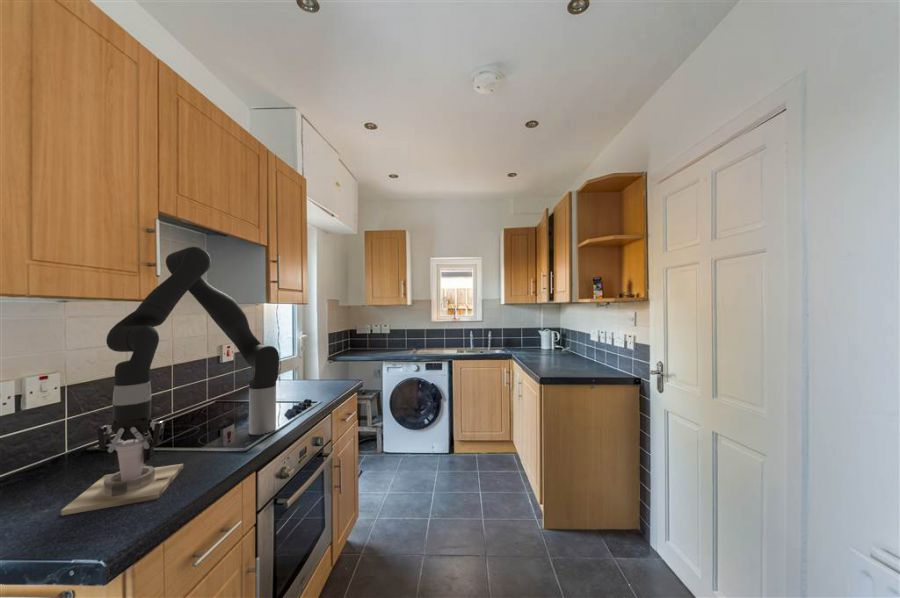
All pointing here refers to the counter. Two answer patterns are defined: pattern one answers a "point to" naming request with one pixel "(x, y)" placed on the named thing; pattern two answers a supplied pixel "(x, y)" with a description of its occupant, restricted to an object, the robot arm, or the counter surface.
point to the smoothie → (130, 459)
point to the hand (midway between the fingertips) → (131, 463)
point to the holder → (124, 489)
